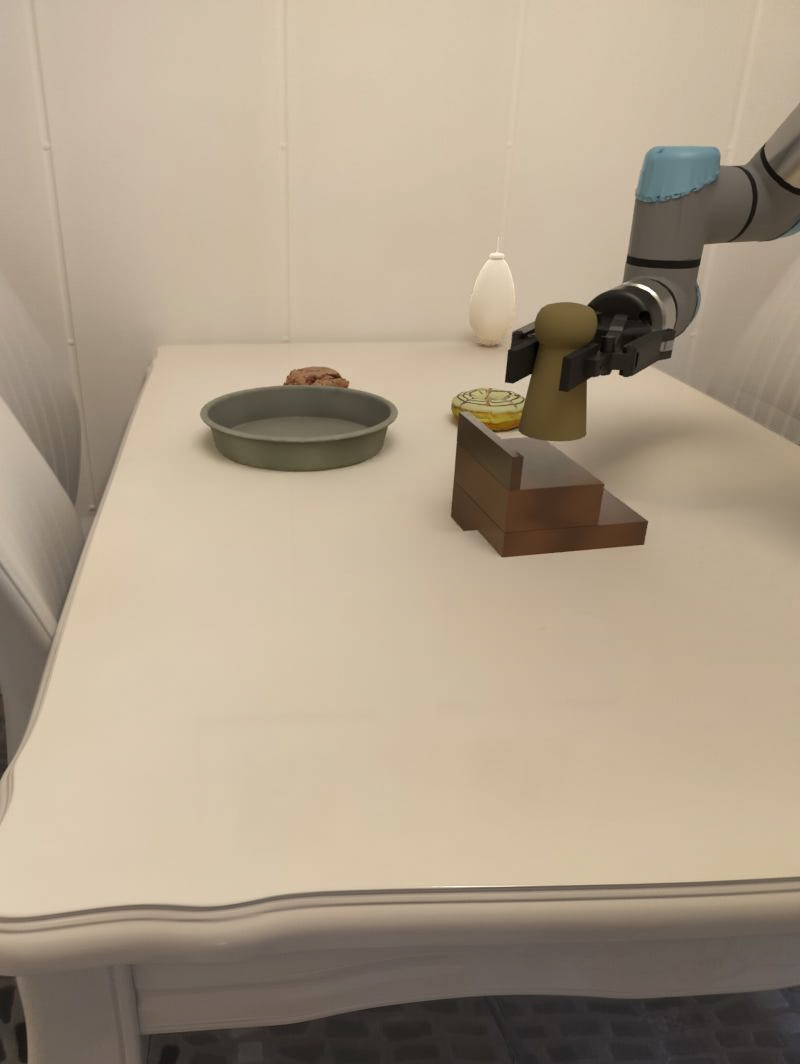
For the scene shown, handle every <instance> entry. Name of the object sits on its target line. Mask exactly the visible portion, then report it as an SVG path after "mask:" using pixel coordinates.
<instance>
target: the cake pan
mask: <svg viewBox="0 0 800 1064" xmlns="http://www.w3.org/2000/svg"><path fill="white" fill-rule="evenodd" d="M398 414H399V411H398V408H397V406H396V404H394V403H393V402H392V401H390V400H389V399H387V398H385V397H383V396H380V395H378V394H375V393H371V392H369V391H365V390H361V389H355V388H349V387H348V388H343V387H334V386H320V385H283V384H282V385H271V386H262V387H261V386H260V387H254V388H246V389H242V390H237V391H233V392H230V393H226V394H223V395H221V396H218V397H215V398H213V399H212V400H210V401H208V402H207V403H205V404H204V405H203V406H202V407H201V409H200V412H199V416H200V417H199V418H200V419H201V420H202V422H203V423H204V424H205V425H206V426H208V427H209V428H210V432H211V434H212V435H211V436H212V438H213V441H214V444H215V448H216V450H217V451H218V452H219V453H220V454H221V455H222V456H224V457H225V458H227V459H229V460H231V461H233V462H236V463H239V464H243V465H246V466H249V467H256V468H261V469H268V470H277V471H278V470H279V471H320V470H331V469H337V468H342V467H348V466H351V465H355V464H358V463H361V462H364V461H366V460H368V459H371V458H373V457H374V456H376V455H377V454H378V453H380V451H381V450H382V448H383V446H384V444H385V438H386V435H387V431H388V428H389V426H390V425H392V424H393V423H394V422H395V421H396V419H397V418H398Z"/></svg>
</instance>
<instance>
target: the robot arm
mask: <svg viewBox="0 0 800 1064" xmlns="http://www.w3.org/2000/svg"><path fill="white" fill-rule="evenodd" d="M721 157H722V156H721V150H719V148H718V147H716V146H710V145H708V146H706V145H656V146H653V147H651V148H650V149H648V150H647V151H646V153H645V155H643V159H642V164H641V167H640V170H639V176H638V180H637V184H636V188H635V190H634V197H635V199H634V207H633V214H632V220H631V226H630V234H629V240H628V248H627V254H626V261H625V262H624V263H625V264H624V270H623V277H622V283H621V284H619V285H617V286H615V287H613V288H610V289H608V290H606V291H603V292H601V293H600V294H598V295H596V296H595V297H594V298H592V299H591V300H590V301H589V302H588V303H587V305H586V306H589V307H591V308H592V309H593V310H594V312H595V314H596V316H597V330H596V333H595V335H594V338H593V339H592V340H591V342H590V343H589V344H588V345H587V346H584V347H582V348H580V349H578V350H576V351H574V352H572V353H570V354H568V355H566V356H565V357H563V361H562V369H561V376H560V384H559V391H564V392H568V391H570V390H572V389H573V388H575V387H577V386H578V385H580V384H581V383H583V382H585V381H586V380H587V381H588V380H590V379H592V378H598V377H600V376H602V377H605V376H610V375H611V373H612V371H618V375H619V376H621V377H622V378H630V377H633V376H635V375H637V374H638V373H640V372H641V371H644V370H645V369H647V368H649V367H650V366H652V365H654V364H655V363H657V362H659V361H663V360H664V361H665V360H670V359H672V356H673V350H674V345H675V340H676V338H678V337H680V336H681V335H683V333H684V332H685V331H686V330H687V328H688V327H689V326H690V325H691V324H692V323H693V321H694V320H695V319H696V317H697V315H698V313H699V310H700V307H701V301H702V295H701V290H700V286H699V284H698V276H699V271H700V267H701V262H702V257H703V252H704V248H705V245H715V244H717V245H718V244H731V243H749V242H751V243H752V242H758V243H763V242H772V241H776V240H779V239H783V238H788V237H791V236H793V235H796V234H798V233H799V232H800V102H799V103H798V104H797V105H796V106H795V107H794V109H793V110H792V111H791V112H790V114H789V115H788V116H787V117H786V118H785V119H784V120H783V122H781V124H780V125H779V126H778V127H777V129H776V130H775V131H774V132H773V133H772V135H771V136H770V137H769V138H768V139H767V140H766V141H765V143H764V144H763V145H762V146H761V147H760V148H759V150H757V152H756V153H754V155H753V156H752V157H751V158H750V159H749V161H748V162H746V164H741V165H739V164H738V165H723V164H722V165H721ZM534 326H535V320H534V321H532V322H529V323H528V324H526V325H523V326H521V327H519V328H517V329H515V330H513V331H512V332H511V339H510V340H511V341H510V348H509V349H507V355H506V356H507V357H506V366H505V375H504V383H505V384H512V385H513V384H515V383H517V382H519V381H521V380H523V379H525V378H527V377H529V376H531V374H532V373H533V368H534V364H535V359H536V355H537V350H538V346H539V342H538V340H537V338H536V335H535V328H534Z"/></svg>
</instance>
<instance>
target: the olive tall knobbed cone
mask: <svg viewBox="0 0 800 1064" xmlns="http://www.w3.org/2000/svg"><path fill="white" fill-rule="evenodd" d="M534 321H535V326H534V328H535V335H536V338H537V340H538V342H539V346H538V350H537V355H536V359H535V364H534V368H533V373H532V374H530V379H529V383H528V386H527V390H526V395H525V403H524V407H523V411H522V415H521V419H520V423H519V426H517V427H518V432H519V433H520V434H521V435H523V436H525V437H530V438H534V439H538V440H545V441H548V442H572V441H578V440H580V439H583V438H584V437H586V436H587V416H588V415H587V413H588V412H587V411H588V410H587V408H588V407H587V406H588V405H587V404H588V380H586V381H585V382H583V383H581V384H580V385H578V386H577V387H575V388H573V389H572V390H570V391H568V392H564V391H559V384H560V376H561V369H562V361H563V357H565V356H566V355H568V354H570V353H572V352H574V351H576V350H578V349H580V348H582V347H584V346H587V345H588V344H589V343H590V342H591V340H592V339H593V338H594V335H595V333H596V330H597V316H596V314H595V312H594V310H593V309H592V308H591V307H589V306H587V305H586V304H583V303H579V302H573V301H571V302H570V301H560V302H553V303H549V304H545V305H544V306H542V307H541V308H540V309H539V311H538V312H537V314H536V316H535V319H534Z"/></svg>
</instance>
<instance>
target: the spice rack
mask: <svg viewBox="0 0 800 1064" xmlns="http://www.w3.org/2000/svg"><path fill="white" fill-rule="evenodd" d="M456 431H457V432H456V433H457V434H456V445H455V459H454V472H453V483H452V484H453V485H452V495H451V496H452V497H451V508H450V509H451V510H450V517H451V518H452V520H453V521H454V522H455V523H456V524H457V525H458V527H460V529H461V530H462V531H463V532H470V531H477V532H478V533H479V534H480V535H481V537H483V538H484V540H485V541H486V542H488V544H489V546H491V547H492V548H493V549H494V551H495V552H496V553H497V554H498V555H499V556H500V557H501V558H512V557H513V558H515V557H524V556H534V555H547V554H558V553H568V552H569V553H570V552H580V551H590V550H592V551H593V550H603V549H613V548H624V547H625V548H627V547H635V546H644V545H645V540H646V535H647V531H648V527H649V520H648V519H646V517H645V518H644V516H642V515H641V514H639V512H637V511H636V510H634V509H633V508H631V507H630V506H629V505H628V504H626V503H625V502H624V501H622V500H621V499H619V498H618V497H617V496H615V494H613V493H611V492H610V491H609V490H608V489H606V488H605V486H606V485H605V482H604V481H602V480H601V479H599V478H598V477H596V476H595V475H594V474H592V473H591V472H590V471H588V470H587V469H585V468H584V467H583V466H581V465H580V464H579V463H578V462H576V461H575V460H573V458H571V457H570V456H569V455H567V454H565V453H564V452H562V450H560V449H558V447H556V446H554V445H553V444H552V443H551V442H550V441H545V440H538V439H534V438H530V437H527V436H525V437H513V438H512V437H511V438H502V437H500V436H499V435H498V434H497V433H495V432H494V431H492V430H490V429H489V428H488V427H487V426H485V425H484V424H483V423H482V422H481V421H479V420H478V419H477V418H476V417H474V416H473V415H472V414H471V413H470V412H459V418H458V421H457V430H456Z"/></svg>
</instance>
